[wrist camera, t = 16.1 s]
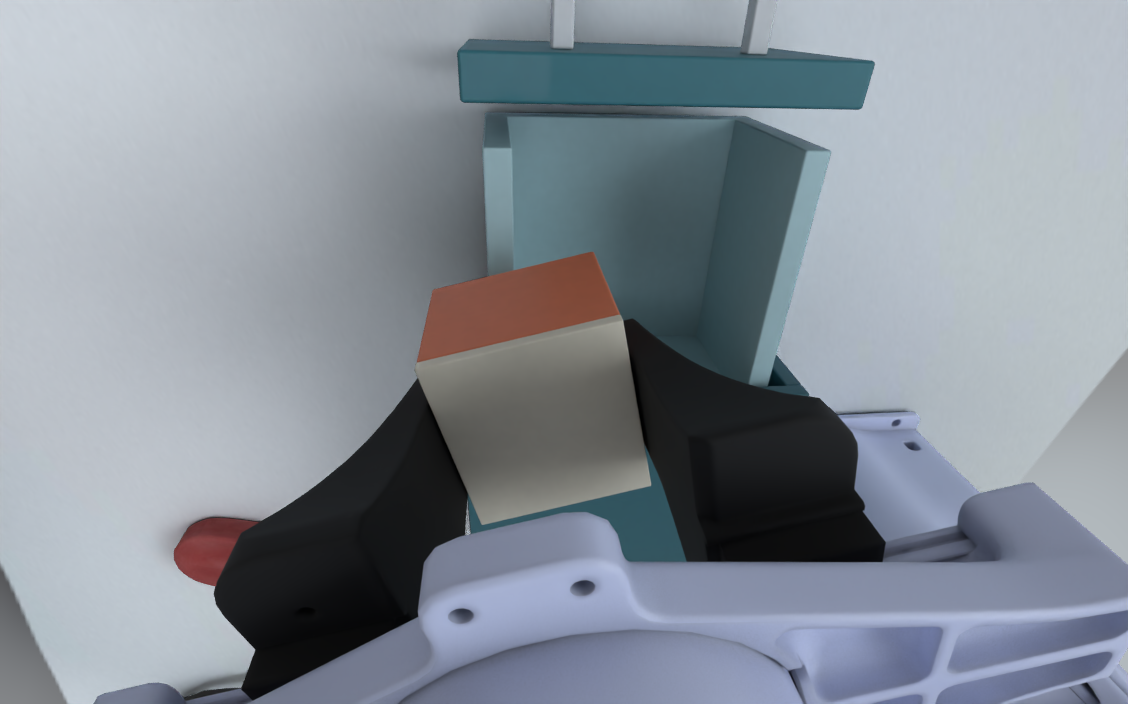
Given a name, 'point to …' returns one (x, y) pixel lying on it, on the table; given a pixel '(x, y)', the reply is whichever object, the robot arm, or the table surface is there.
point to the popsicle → (208, 547)
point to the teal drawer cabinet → (641, 504)
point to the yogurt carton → (534, 388)
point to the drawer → (661, 176)
